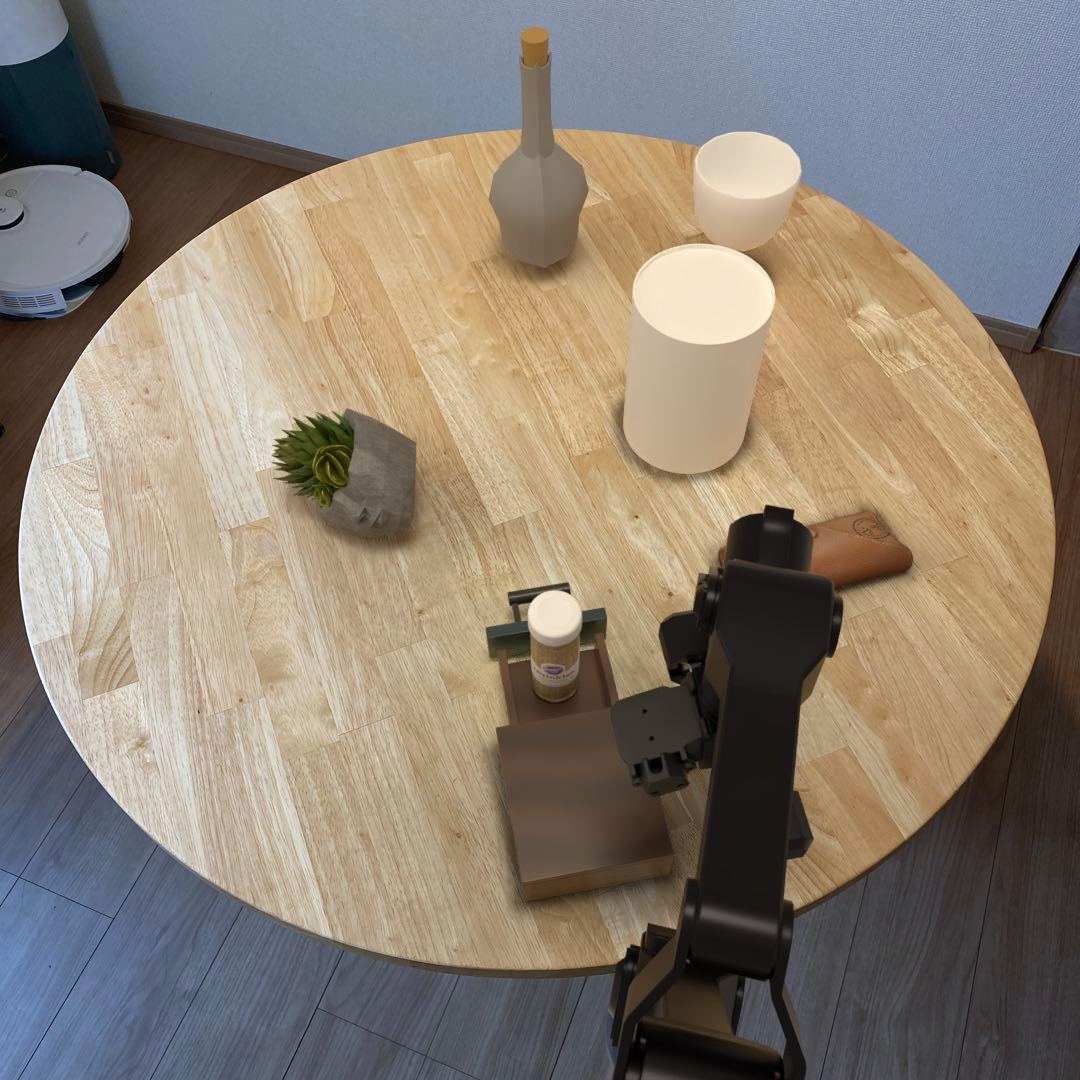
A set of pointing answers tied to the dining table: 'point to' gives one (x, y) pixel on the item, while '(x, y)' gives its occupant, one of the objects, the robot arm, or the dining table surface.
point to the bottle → (538, 171)
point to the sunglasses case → (854, 550)
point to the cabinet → (578, 807)
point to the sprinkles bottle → (555, 645)
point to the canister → (694, 355)
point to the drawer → (516, 676)
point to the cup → (744, 188)
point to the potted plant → (352, 472)
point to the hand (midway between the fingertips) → (716, 771)
